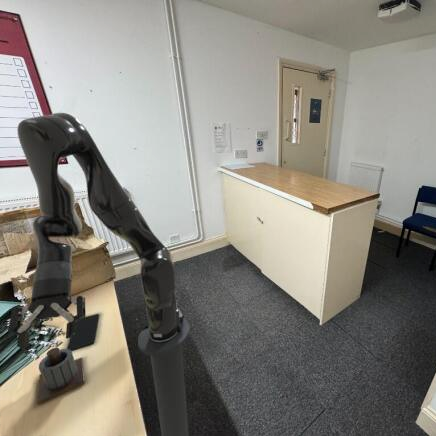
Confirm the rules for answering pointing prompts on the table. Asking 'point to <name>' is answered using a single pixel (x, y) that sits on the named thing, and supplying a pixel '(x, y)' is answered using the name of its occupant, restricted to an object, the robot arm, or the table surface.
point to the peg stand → (48, 394)
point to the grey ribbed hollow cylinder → (58, 370)
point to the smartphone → (84, 332)
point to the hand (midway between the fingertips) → (47, 343)
